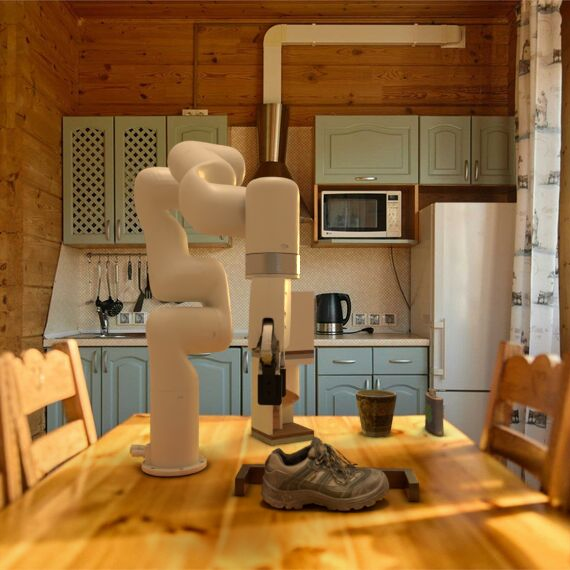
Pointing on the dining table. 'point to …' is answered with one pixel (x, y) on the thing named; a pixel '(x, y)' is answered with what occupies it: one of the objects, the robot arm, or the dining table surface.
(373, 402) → the ceramic cup
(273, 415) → the cream pedestal stand
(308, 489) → the hiking shoe
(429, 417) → the flask
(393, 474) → the bracket
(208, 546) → the dining table surface
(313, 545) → the dining table surface
